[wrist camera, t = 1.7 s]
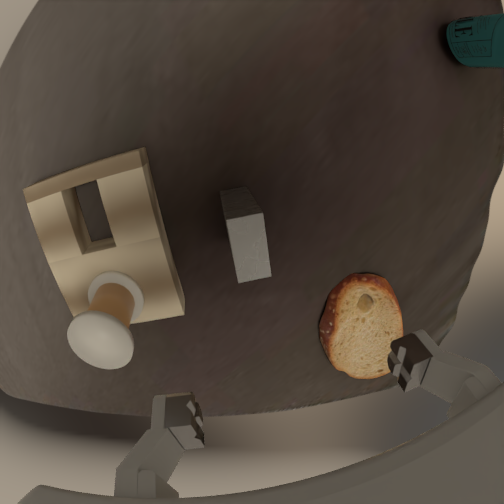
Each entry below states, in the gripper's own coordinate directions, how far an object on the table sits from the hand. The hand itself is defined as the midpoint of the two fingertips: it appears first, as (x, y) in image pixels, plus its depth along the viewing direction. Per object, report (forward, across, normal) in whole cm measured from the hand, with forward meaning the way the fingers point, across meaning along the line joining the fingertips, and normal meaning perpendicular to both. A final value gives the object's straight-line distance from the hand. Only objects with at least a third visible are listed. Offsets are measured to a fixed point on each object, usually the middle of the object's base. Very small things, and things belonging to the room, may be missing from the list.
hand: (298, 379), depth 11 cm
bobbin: (+17, +13, +4) cm, 22 cm away
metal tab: (+20, 0, 0) cm, 20 cm away
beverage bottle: (+20, -29, -18) cm, 40 cm away
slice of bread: (+20, -15, +20) cm, 32 cm away
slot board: (+20, +13, 0) cm, 24 cm away
